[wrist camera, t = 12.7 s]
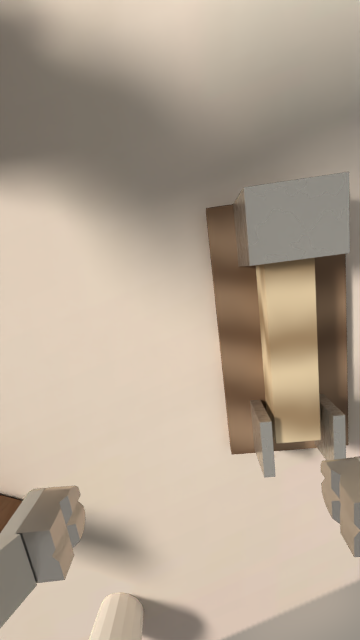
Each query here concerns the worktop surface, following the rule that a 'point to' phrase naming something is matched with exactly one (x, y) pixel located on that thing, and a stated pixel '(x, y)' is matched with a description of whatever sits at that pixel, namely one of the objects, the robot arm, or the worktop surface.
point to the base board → (245, 336)
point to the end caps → (286, 245)
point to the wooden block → (7, 509)
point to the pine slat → (290, 348)
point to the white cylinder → (118, 618)
